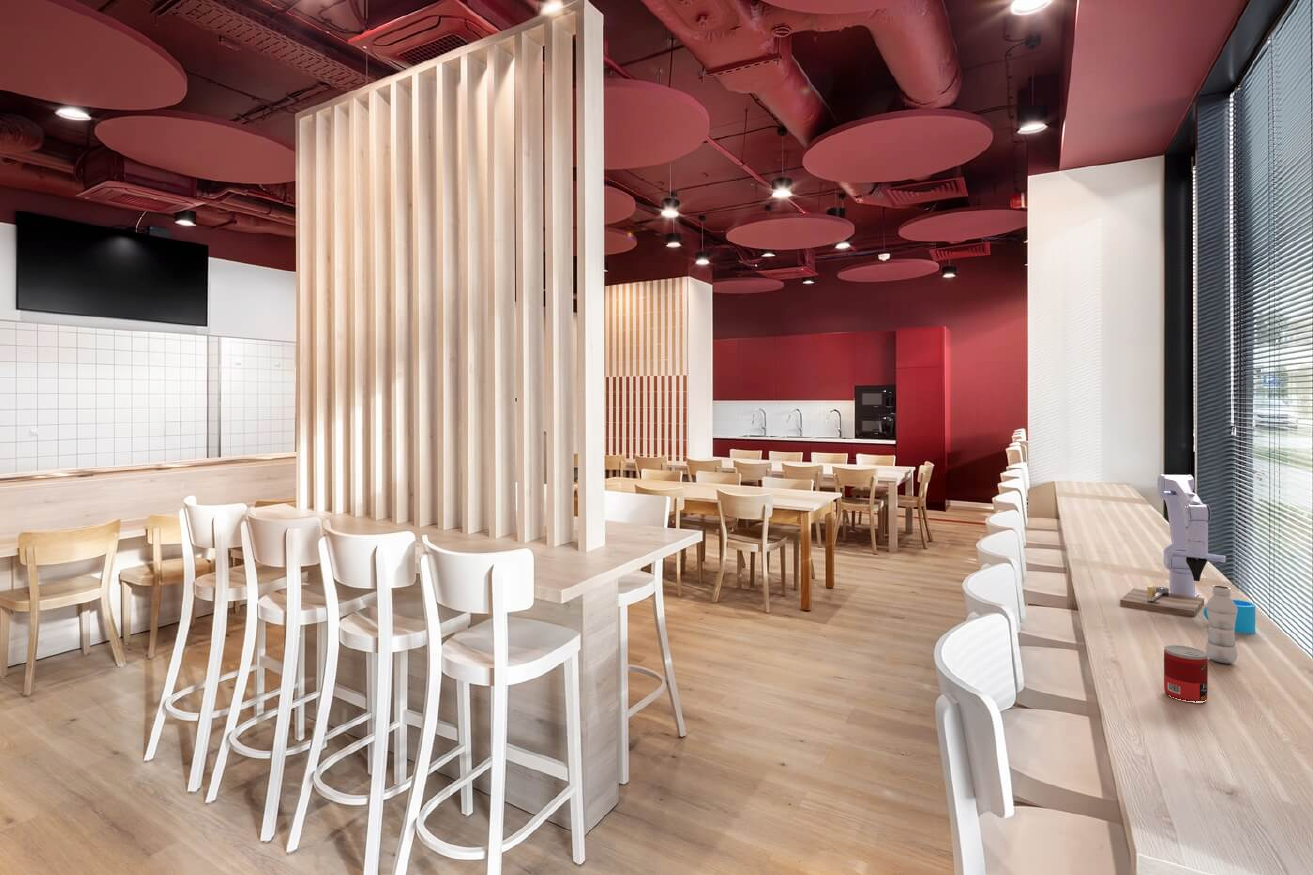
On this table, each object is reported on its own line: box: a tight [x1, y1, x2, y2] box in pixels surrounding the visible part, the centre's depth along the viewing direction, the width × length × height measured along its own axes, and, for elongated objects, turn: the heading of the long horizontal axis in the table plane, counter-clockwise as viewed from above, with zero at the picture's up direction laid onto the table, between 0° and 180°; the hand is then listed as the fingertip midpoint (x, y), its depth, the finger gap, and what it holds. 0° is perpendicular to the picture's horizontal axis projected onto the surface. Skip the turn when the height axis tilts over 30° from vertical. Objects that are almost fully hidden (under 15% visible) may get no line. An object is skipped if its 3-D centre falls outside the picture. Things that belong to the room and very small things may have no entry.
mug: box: [1203, 598, 1256, 635], centre depth 201 cm, size 12×8×8 cm
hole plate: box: [1119, 588, 1205, 618], centre depth 226 cm, size 20×20×2 cm
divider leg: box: [1147, 584, 1169, 602], centre depth 227 cm, size 16×4×5 cm, turn 128°
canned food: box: [1163, 644, 1209, 702], centre depth 154 cm, size 8×8×11 cm
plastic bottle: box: [1205, 585, 1239, 664], centre depth 174 cm, size 6×7×20 cm
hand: (1196, 580), depth 221 cm, fingers closed
